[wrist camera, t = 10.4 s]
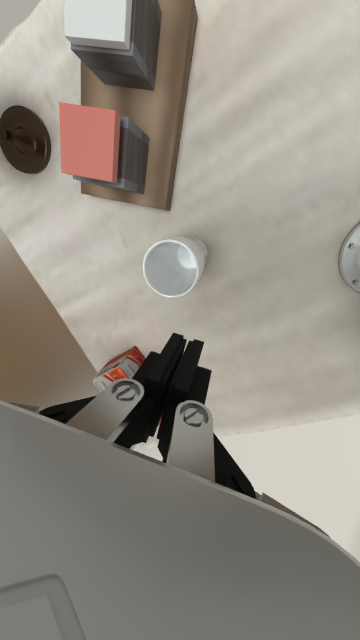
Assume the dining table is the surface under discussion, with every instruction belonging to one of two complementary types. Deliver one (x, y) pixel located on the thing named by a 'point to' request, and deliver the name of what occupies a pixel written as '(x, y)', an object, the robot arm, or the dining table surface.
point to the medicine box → (119, 368)
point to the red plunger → (89, 141)
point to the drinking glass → (174, 265)
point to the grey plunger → (98, 23)
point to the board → (143, 99)
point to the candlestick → (24, 140)
